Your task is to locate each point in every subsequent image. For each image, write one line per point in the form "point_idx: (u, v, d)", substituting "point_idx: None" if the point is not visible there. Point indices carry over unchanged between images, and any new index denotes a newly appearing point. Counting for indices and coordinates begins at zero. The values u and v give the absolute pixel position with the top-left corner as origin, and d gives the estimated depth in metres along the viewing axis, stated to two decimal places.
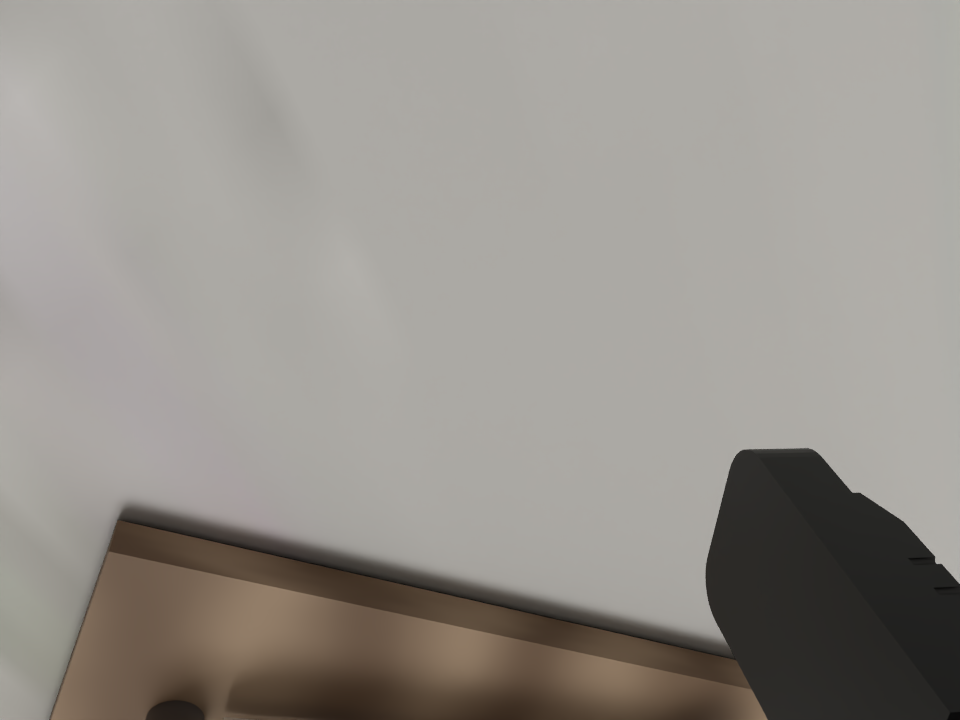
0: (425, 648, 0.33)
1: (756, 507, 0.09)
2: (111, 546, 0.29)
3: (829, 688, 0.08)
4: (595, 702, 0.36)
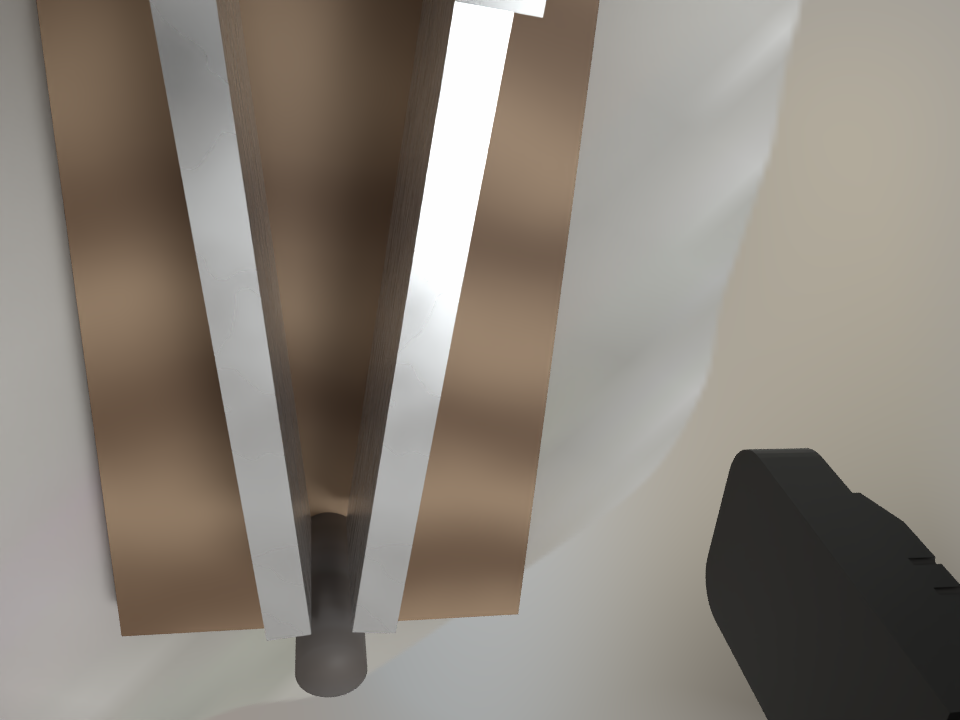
0: (130, 344, 0.27)
1: (756, 507, 0.09)
2: None
3: (828, 686, 0.08)
4: (143, 74, 0.23)
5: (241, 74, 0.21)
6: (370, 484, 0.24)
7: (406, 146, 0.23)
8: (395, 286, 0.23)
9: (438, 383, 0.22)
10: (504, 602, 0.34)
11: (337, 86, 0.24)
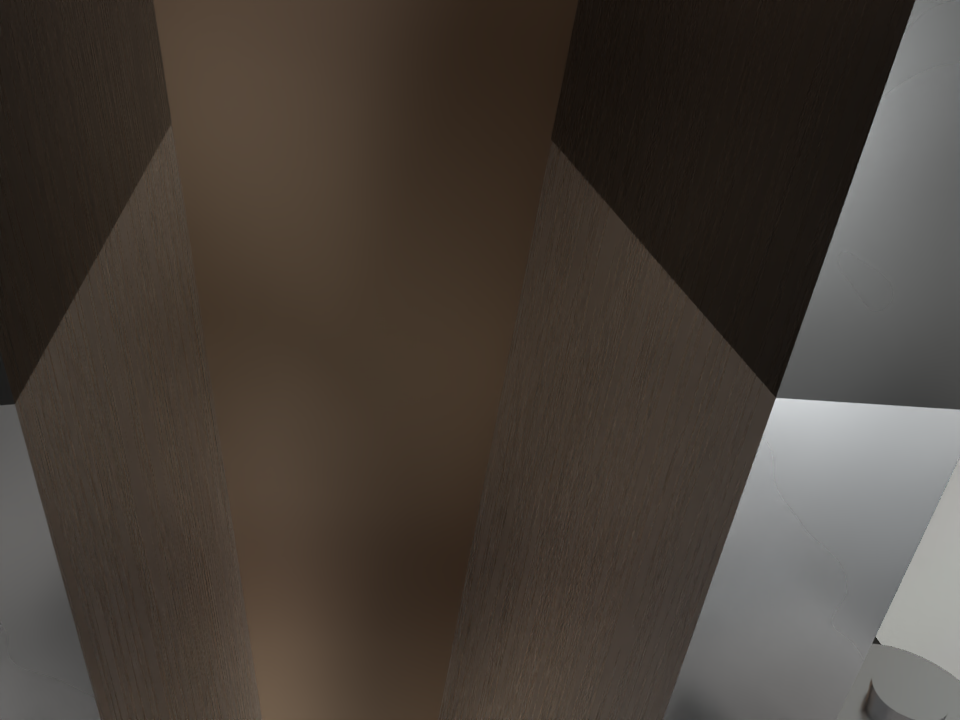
0: None
1: None
2: None
3: None
4: None
5: (179, 446, 0.08)
6: None
7: (501, 528, 0.10)
8: None
9: None
10: None
11: (369, 362, 0.11)
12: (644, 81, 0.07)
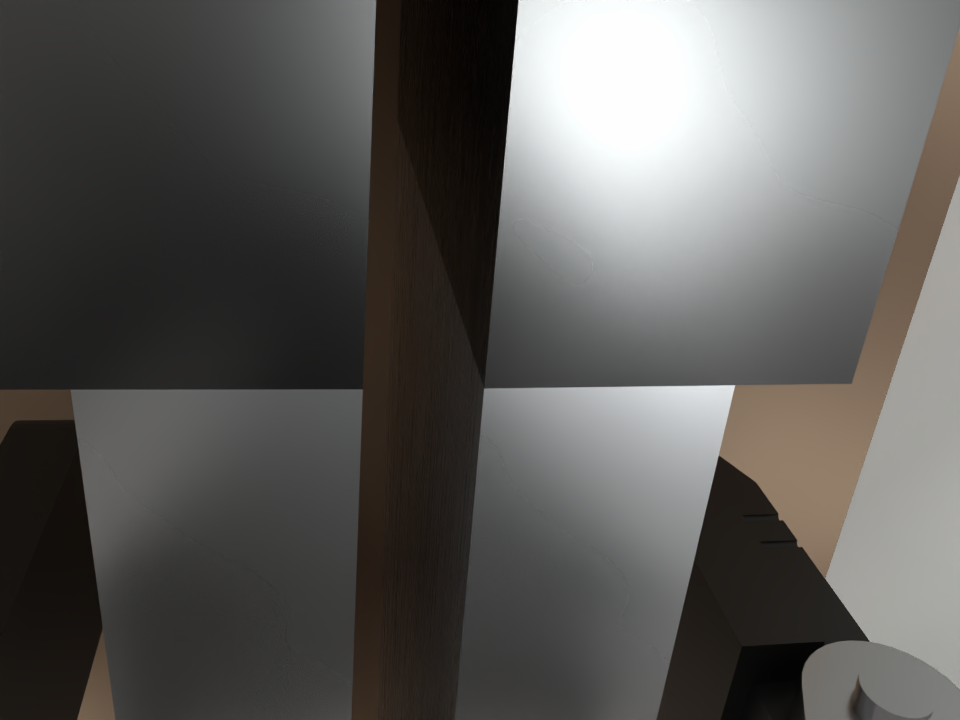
0: None
1: None
2: None
3: None
4: None
5: None
6: None
7: (392, 529, 0.09)
8: None
9: None
10: None
11: (372, 363, 0.11)
12: (426, 46, 0.06)
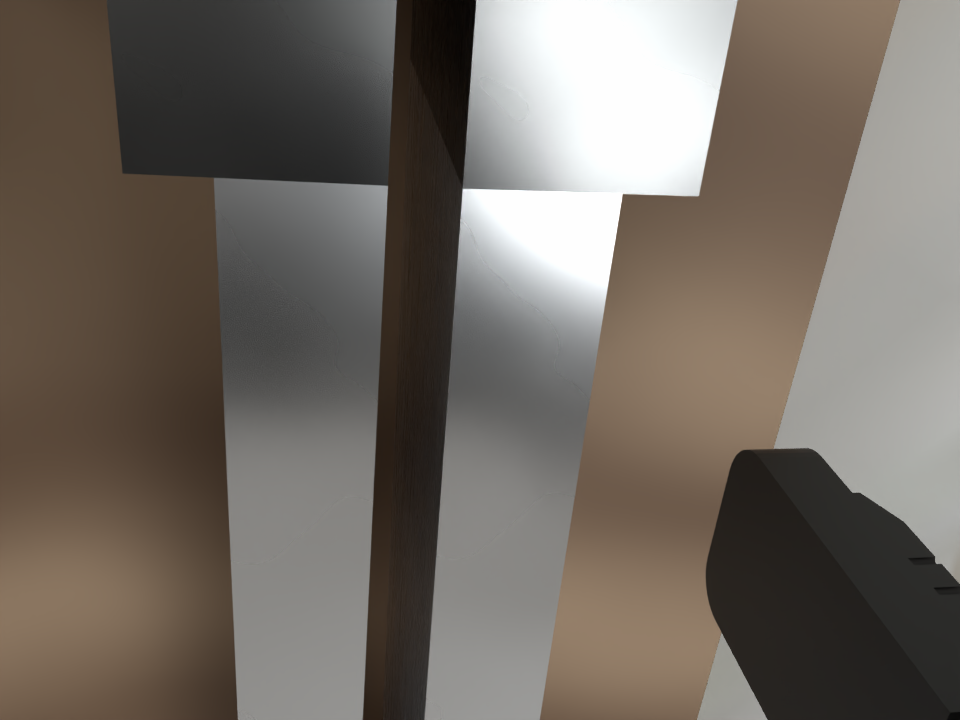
0: (31, 665, 0.16)
1: (756, 507, 0.09)
2: None
3: (829, 688, 0.08)
4: (28, 251, 0.12)
5: None
6: None
7: (403, 386, 0.12)
8: (404, 669, 0.12)
9: None
10: None
11: (388, 265, 0.13)
12: None
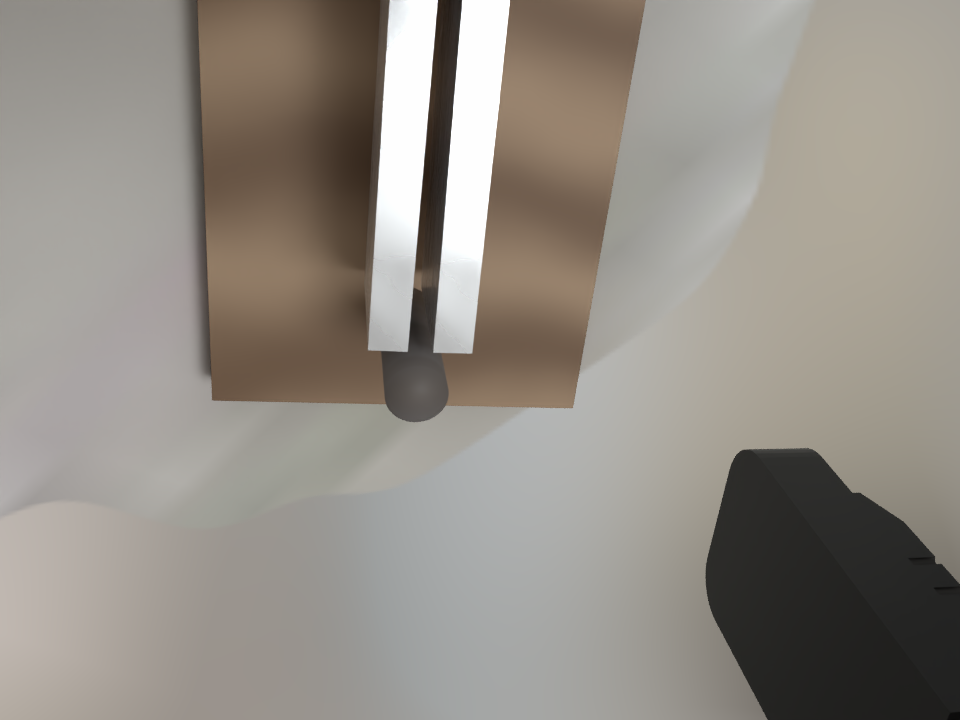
0: (243, 99, 0.29)
1: (756, 507, 0.09)
2: None
3: (830, 688, 0.08)
4: None
5: None
6: (441, 207, 0.27)
7: None
8: (452, 12, 0.25)
9: (496, 88, 0.24)
10: (561, 394, 0.36)
11: None
12: None
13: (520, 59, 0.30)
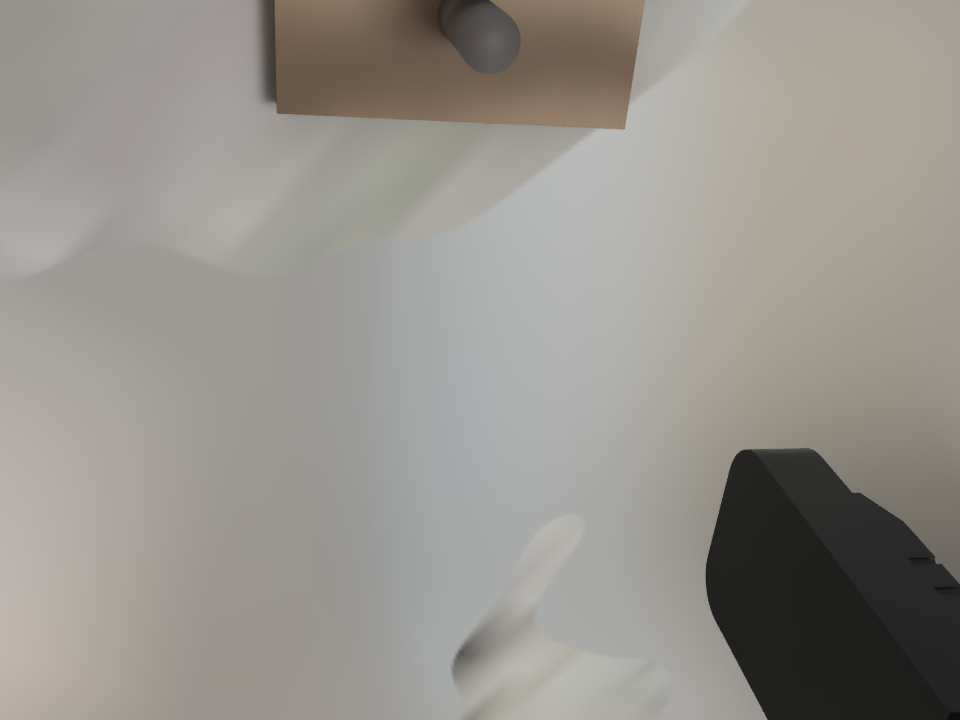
0: None
1: (756, 507, 0.09)
2: None
3: (829, 688, 0.08)
4: None
5: None
6: None
7: None
8: None
9: None
10: (613, 113, 0.37)
11: None
12: None
13: None
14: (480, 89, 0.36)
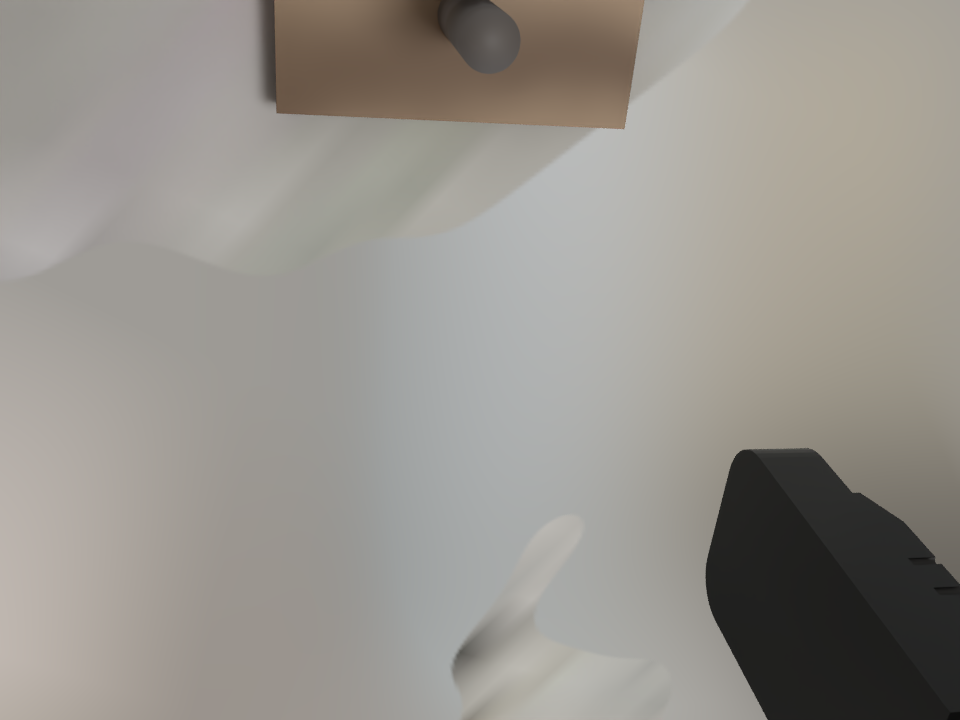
0: None
1: (756, 507, 0.09)
2: None
3: (828, 688, 0.08)
4: None
5: None
6: None
7: None
8: None
9: None
10: (613, 113, 0.37)
11: None
12: None
13: None
14: (480, 89, 0.36)
